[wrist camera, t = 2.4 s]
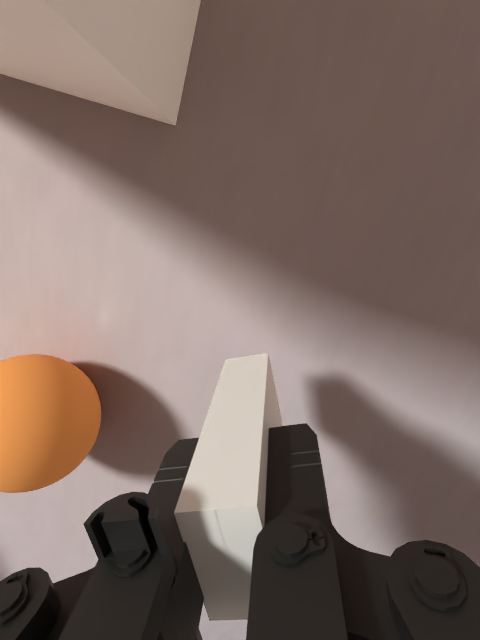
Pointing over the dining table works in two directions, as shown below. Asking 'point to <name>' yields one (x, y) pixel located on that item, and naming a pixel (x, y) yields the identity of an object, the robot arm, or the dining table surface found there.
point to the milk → (102, 50)
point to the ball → (44, 421)
